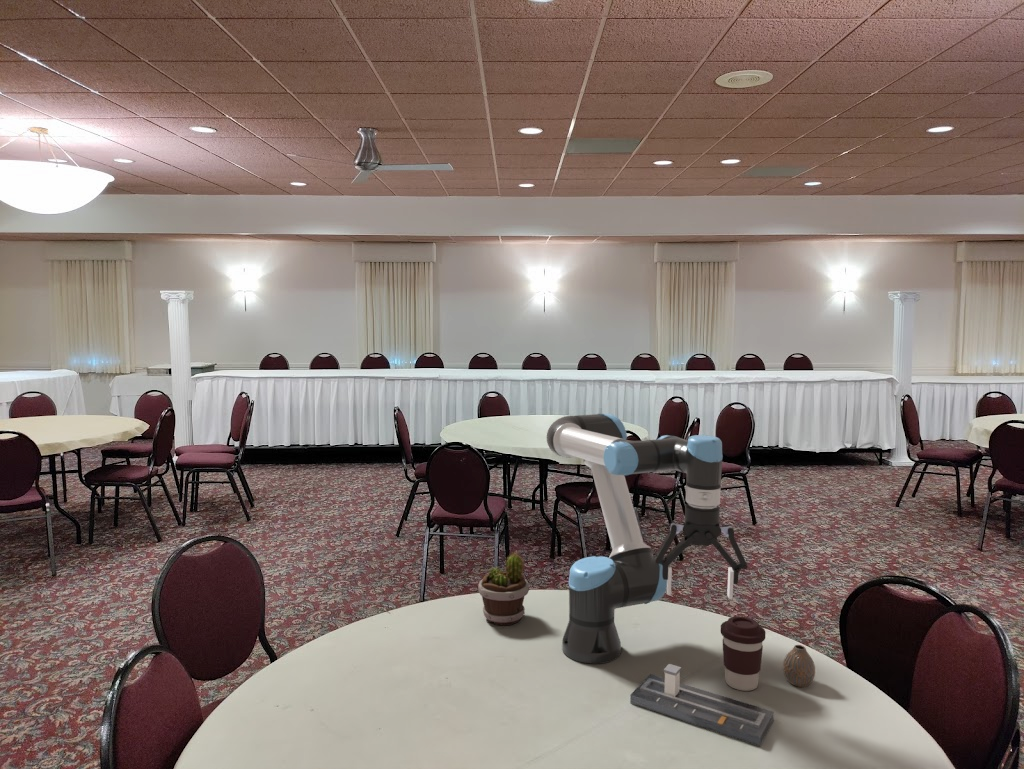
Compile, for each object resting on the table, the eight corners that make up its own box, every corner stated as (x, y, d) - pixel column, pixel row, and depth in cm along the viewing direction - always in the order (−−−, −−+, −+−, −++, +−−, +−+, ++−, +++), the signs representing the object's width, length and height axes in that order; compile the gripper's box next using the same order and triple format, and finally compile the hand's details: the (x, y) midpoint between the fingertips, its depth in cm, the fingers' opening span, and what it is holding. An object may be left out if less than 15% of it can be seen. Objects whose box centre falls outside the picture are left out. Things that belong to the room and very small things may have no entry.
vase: (817, 692, 155) (819, 655, 154) (785, 688, 156) (787, 652, 156) (810, 677, 162) (812, 641, 161) (780, 674, 163) (781, 639, 162)
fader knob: (663, 693, 150) (663, 669, 150) (668, 687, 153) (669, 663, 152) (675, 697, 148) (675, 673, 148) (680, 691, 151) (681, 667, 151)
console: (630, 703, 150) (630, 692, 150) (650, 682, 160) (650, 671, 159) (759, 747, 135) (760, 734, 134) (773, 720, 144) (774, 708, 143)
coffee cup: (763, 676, 162) (765, 616, 161) (764, 698, 152) (766, 633, 151) (720, 670, 165) (721, 610, 164) (718, 690, 156) (720, 627, 155)
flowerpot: (483, 632, 186) (482, 561, 184) (474, 609, 201) (474, 544, 199) (534, 627, 189) (534, 557, 187) (522, 605, 204) (522, 541, 202)
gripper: (647, 506, 151) (644, 597, 153) (763, 512, 147) (759, 605, 149) (645, 497, 158) (643, 584, 160) (756, 502, 154) (752, 592, 157)
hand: (699, 595), depth 155 cm, fingers open, 13 cm apart
